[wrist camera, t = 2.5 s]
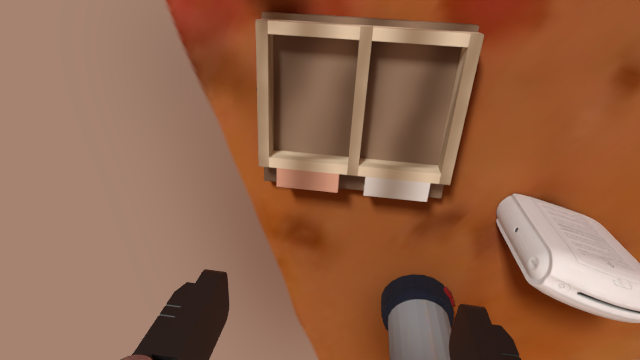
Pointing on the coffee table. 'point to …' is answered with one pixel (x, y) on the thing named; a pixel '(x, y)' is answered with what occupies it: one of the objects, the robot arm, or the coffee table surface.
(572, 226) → the photo printer
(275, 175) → the wooden divided tray
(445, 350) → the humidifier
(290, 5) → the coffee table surface
